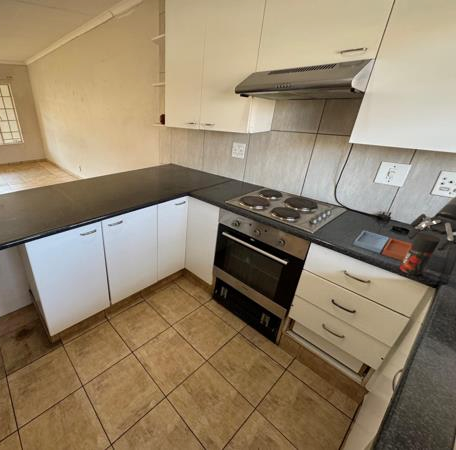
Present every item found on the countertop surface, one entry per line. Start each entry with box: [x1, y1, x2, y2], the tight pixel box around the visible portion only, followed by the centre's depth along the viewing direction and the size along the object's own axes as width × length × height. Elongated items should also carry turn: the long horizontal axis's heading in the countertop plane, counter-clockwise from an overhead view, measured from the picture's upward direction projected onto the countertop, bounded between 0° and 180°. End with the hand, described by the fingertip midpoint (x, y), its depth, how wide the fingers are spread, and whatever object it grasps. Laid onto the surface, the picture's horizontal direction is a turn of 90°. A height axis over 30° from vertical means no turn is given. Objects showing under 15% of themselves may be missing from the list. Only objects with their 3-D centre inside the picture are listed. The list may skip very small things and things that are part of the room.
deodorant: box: [399, 232, 441, 276], centre depth 92 cm, size 6×6×15 cm
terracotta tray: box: [381, 237, 412, 262], centre depth 107 cm, size 10×15×2 cm, turn 130°
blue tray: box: [352, 230, 390, 254], centre depth 114 cm, size 10×15×2 cm, turn 130°
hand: (424, 243), depth 90 cm, fingers open, 8 cm apart
